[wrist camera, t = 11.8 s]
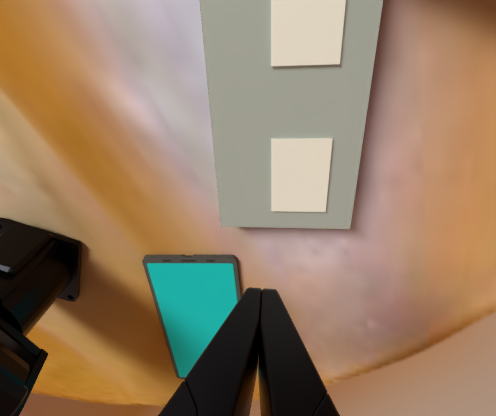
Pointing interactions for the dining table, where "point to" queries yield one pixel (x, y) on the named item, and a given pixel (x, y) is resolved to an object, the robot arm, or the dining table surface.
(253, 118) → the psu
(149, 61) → the dining table surface
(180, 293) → the smartphone
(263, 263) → the dining table surface
